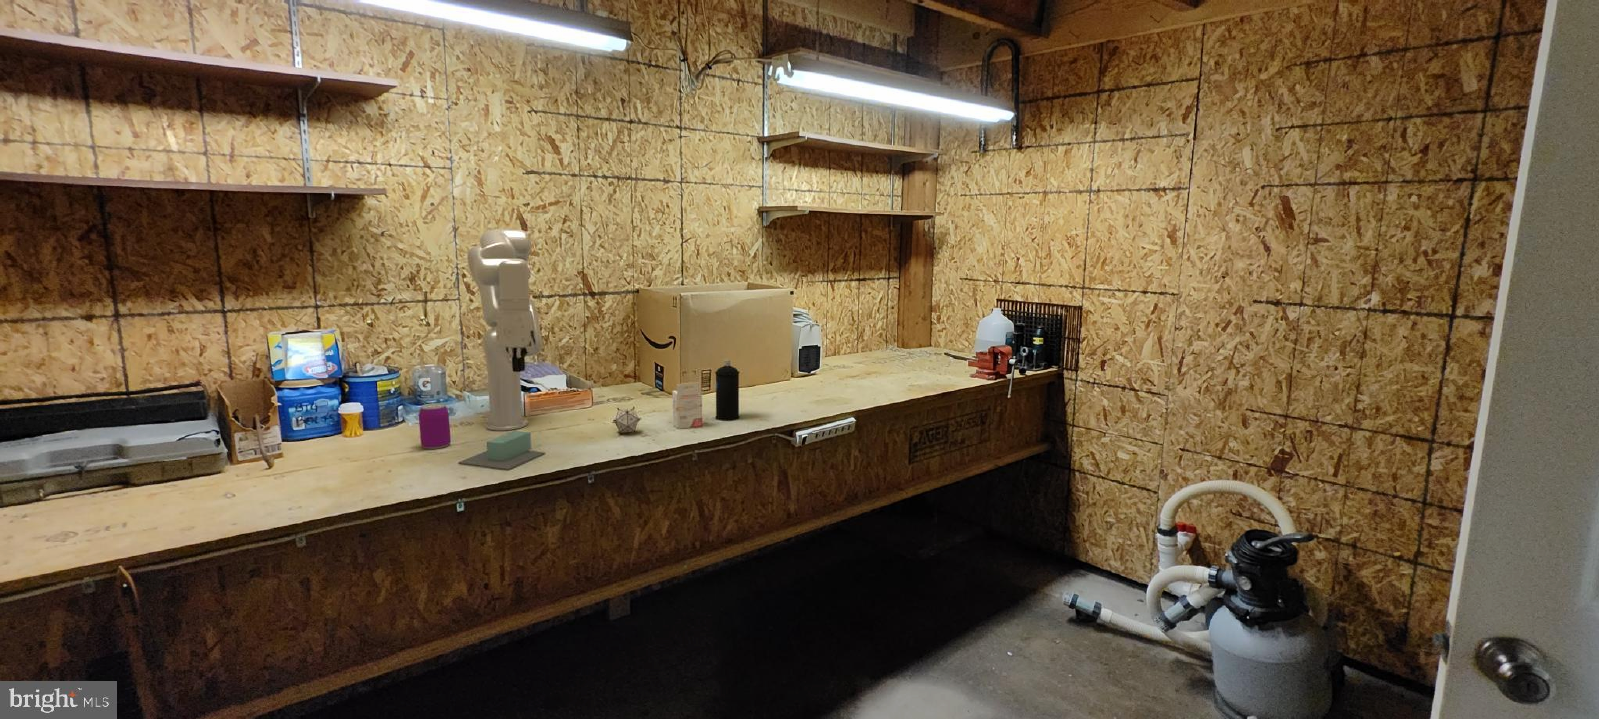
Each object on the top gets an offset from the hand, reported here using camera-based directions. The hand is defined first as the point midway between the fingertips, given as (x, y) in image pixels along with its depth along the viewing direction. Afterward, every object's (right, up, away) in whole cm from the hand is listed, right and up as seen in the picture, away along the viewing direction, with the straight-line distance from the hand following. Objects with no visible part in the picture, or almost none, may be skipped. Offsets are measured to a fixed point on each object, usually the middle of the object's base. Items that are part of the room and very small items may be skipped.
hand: (518, 370), depth 199 cm
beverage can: (-27, -22, +7) cm, 35 cm away
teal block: (0, -20, +4) cm, 20 cm away
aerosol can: (+54, -17, +43) cm, 71 cm away
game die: (+25, -20, +23) cm, 39 cm away
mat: (-3, -24, -4) cm, 25 cm away
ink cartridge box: (+42, -19, +32) cm, 56 cm away
